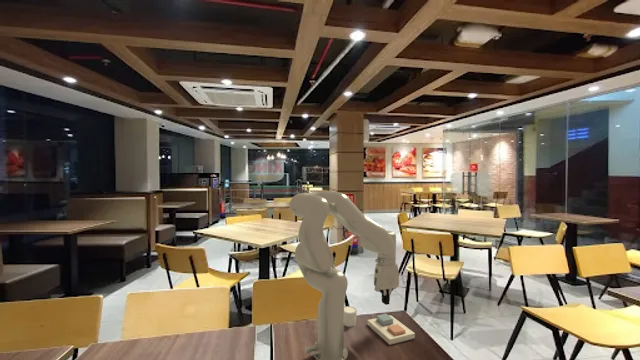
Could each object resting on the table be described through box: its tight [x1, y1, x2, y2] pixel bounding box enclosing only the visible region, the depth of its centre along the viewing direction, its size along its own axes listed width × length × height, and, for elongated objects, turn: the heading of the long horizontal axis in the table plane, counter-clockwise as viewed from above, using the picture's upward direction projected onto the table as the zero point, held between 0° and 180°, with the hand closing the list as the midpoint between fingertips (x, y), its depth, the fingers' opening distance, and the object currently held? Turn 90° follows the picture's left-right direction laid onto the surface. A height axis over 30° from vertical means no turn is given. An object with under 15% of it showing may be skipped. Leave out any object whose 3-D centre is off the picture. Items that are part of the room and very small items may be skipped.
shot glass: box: [344, 305, 358, 328], centre depth 131 cm, size 7×7×7 cm
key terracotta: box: [387, 324, 405, 336], centre depth 121 cm, size 5×5×2 cm
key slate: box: [375, 313, 393, 326], centre depth 129 cm, size 5×5×2 cm
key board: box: [367, 314, 416, 345], centre depth 125 cm, size 12×16×3 cm
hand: (385, 303), depth 128 cm, fingers closed
